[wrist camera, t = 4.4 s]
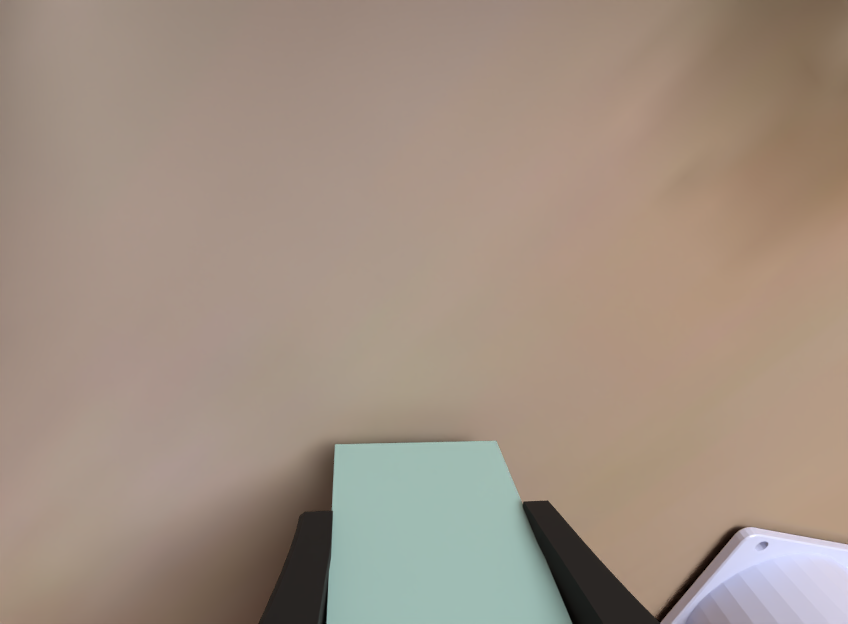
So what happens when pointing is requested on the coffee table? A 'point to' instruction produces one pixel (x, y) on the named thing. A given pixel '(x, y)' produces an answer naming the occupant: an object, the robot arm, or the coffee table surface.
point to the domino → (434, 539)
